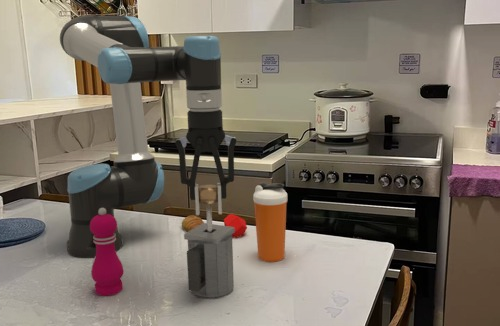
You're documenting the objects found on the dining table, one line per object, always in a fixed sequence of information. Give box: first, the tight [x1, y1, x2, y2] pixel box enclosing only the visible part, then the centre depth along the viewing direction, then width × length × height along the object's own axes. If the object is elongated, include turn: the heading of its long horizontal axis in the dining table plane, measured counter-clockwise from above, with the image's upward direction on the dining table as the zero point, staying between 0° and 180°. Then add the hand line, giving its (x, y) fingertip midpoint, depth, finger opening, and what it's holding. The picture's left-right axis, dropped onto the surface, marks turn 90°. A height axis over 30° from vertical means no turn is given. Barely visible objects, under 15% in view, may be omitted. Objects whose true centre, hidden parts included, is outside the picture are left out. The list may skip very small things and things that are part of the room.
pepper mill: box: [90, 208, 124, 297], centre depth 121 cm, size 7×7×20 cm
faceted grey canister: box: [183, 222, 235, 300], centre depth 119 cm, size 10×13×14 cm
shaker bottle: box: [252, 181, 288, 263], centre depth 138 cm, size 9×9×20 cm
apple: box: [223, 213, 248, 238], centre depth 158 cm, size 7×7×8 cm
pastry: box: [181, 214, 205, 233], centre depth 163 cm, size 9×7×4 cm
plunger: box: [198, 184, 218, 233], centre depth 119 cm, size 7×7×20 cm
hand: (208, 212), depth 118 cm, fingers closed on plunger, 4 cm apart
